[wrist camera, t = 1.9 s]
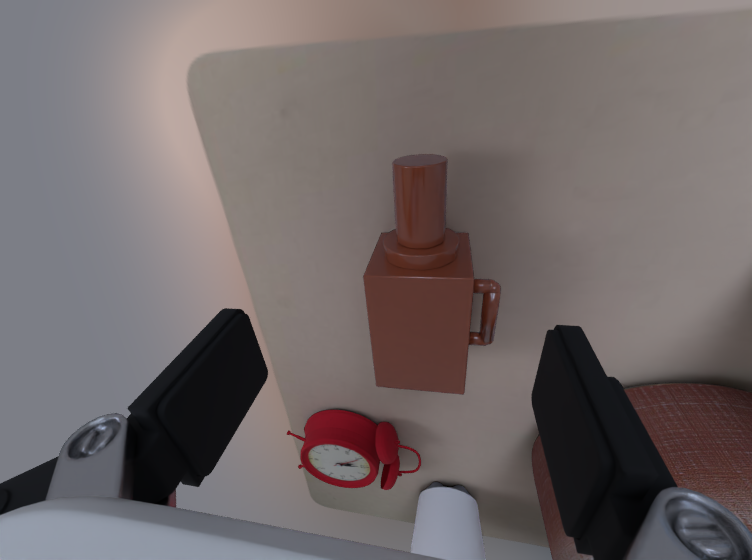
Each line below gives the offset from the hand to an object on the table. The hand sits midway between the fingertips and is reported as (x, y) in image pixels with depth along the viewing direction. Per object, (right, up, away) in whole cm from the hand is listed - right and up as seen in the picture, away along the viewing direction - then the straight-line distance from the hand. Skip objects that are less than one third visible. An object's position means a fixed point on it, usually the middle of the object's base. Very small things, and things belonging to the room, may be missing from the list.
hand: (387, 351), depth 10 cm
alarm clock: (-2, -17, +30) cm, 35 cm away
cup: (+9, -27, +34) cm, 44 cm away
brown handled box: (+5, -4, +17) cm, 18 cm away
